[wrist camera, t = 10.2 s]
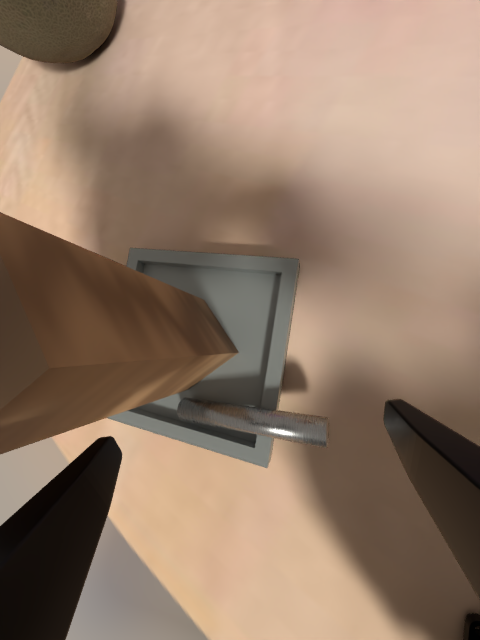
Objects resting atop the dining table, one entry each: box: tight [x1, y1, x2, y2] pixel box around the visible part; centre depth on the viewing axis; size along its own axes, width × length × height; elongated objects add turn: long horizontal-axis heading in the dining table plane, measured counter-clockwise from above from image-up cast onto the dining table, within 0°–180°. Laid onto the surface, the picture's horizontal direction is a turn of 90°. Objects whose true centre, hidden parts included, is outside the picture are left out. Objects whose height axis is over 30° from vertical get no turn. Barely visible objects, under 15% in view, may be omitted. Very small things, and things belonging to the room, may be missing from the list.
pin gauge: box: [177, 397, 329, 448], centre depth 16 cm, size 10×2×2 cm
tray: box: [107, 248, 300, 468], centre depth 20 cm, size 14×14×2 cm
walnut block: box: [0, 212, 239, 454], centre depth 13 cm, size 5×5×14 cm
